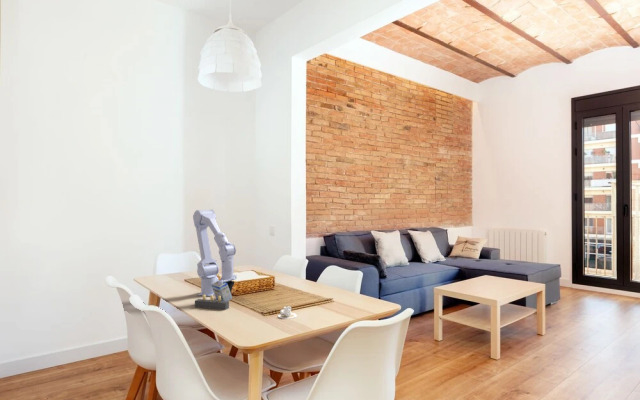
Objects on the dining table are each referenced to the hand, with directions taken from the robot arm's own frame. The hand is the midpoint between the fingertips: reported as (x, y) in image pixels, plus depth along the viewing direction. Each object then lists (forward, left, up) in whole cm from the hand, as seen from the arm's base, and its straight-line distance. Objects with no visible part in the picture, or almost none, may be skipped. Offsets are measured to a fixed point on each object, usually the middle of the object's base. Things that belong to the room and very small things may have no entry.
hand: (227, 296), depth 191 cm
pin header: (+14, 0, -1) cm, 14 cm away
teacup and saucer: (+14, +39, -2) cm, 41 cm away
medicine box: (+3, 0, -1) cm, 3 cm away
